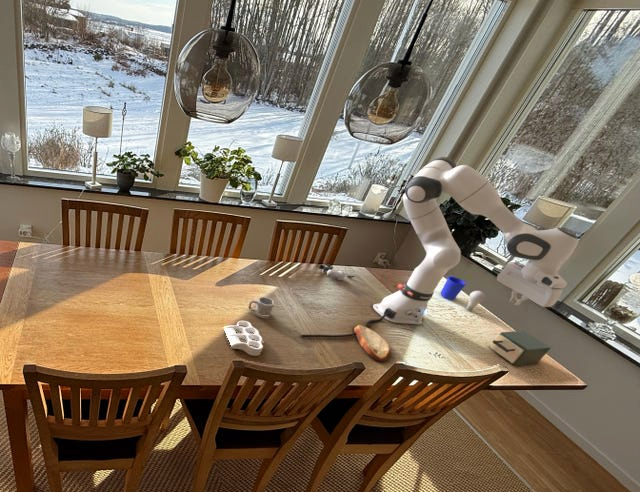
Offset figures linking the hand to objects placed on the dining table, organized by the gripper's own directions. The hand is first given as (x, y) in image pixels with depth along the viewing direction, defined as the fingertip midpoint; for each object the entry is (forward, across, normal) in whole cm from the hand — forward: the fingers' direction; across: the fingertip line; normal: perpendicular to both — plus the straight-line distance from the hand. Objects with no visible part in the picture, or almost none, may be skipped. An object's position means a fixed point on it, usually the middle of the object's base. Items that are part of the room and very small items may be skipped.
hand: (513, 303), depth 154 cm
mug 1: (+28, -36, -85) cm, 96 cm away
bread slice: (+27, -11, -46) cm, 54 cm away
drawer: (+25, +3, +15) cm, 29 cm away
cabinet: (+26, +3, +19) cm, 32 cm away
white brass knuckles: (+28, -18, -100) cm, 105 cm away
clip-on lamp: (+27, -66, -24) cm, 75 cm away
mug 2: (+26, -45, +31) cm, 61 cm away
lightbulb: (+26, -31, +31) cm, 51 cm away
